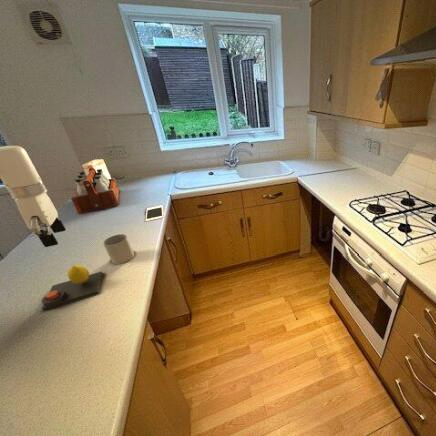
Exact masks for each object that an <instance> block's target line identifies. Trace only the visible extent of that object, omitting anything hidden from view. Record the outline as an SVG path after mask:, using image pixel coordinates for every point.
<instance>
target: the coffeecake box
mask: <svg viewBox="0 0 436 436" xmlns="http://www.w3.org/2000/svg"><path fill="white" fill-rule="evenodd" d="M81 167H82V169H83V172H85V174H86V176H88V174H89V169H90V168H94V169H95V170H96V172H97V169H102V171H103V174H104V175H105V176H106V177H107V178H108V179H112V177H111V174H110V172H109V170H108V167H107V165H106V163H105V161H104V159H102V158H101V159H93V160H90V161H89V162H86V163H84V164H81ZM92 182H93V179H92Z"/></svg>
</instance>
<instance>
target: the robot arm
mask: <svg viewBox="0 0 436 436" xmlns="http://www.w3.org/2000/svg"><path fill="white" fill-rule="evenodd" d="M0 180H1V182H2V184H3V185H4V186H5V188H6V190H7V191H8V193H9V195H10V196H11V198H12V199H13V200H14V201H15V204H16V207H17V209H18V211H19V213H20V215H21V217H22V219H23V221H24V223H25V225H26V226H27V228H28V229H29V230H31V231H32V232H33V233H34V235H36V237H37V238H38V239H39V240H40V242H41V243H42V245H43V247H44V248H49V247H53V246H58V244H59V241H58V240H57V238H56V237H55V235H54V234H58V233H62V232H65V231H66V230H67V229H66V227H65V225H64V223H63V222H62V220H61V216H59V213H58V211H57V208H56V207H55V205H54V203H53V202H52V200H51V198H50V197H49V195H48V193H47V192H48V189H47V187H46V186H45V183H44V182H43V180H42V178H41V176H40V174H39V172H38V171H37V169H36V167H35V165H34V163H33V162H32V160H31V157H30V156H29V154H28V152H27V151H26V150H25V148H23V147H22V146H20V145H4V146H0ZM51 231H52V232H51Z"/></svg>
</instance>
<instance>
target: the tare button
mask: <svg viewBox="0 0 436 436" xmlns="http://www.w3.org/2000/svg"><path fill="white" fill-rule="evenodd" d="M59 295H60V294H59V293H58V291H56V290H55V291H51V292H50V291H49V292H47V294H46V295H45V296H46V297H47V299H48V300H53V299H55V298H57V297H58V296H59Z"/></svg>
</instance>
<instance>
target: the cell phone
mask: <svg viewBox="0 0 436 436" xmlns="http://www.w3.org/2000/svg"><path fill="white" fill-rule="evenodd" d="M145 212H146V213H145V222H151V221H155V220H161V219H163V218H164V206H163V205H158V206H152V207H147V208H146V211H145Z"/></svg>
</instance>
